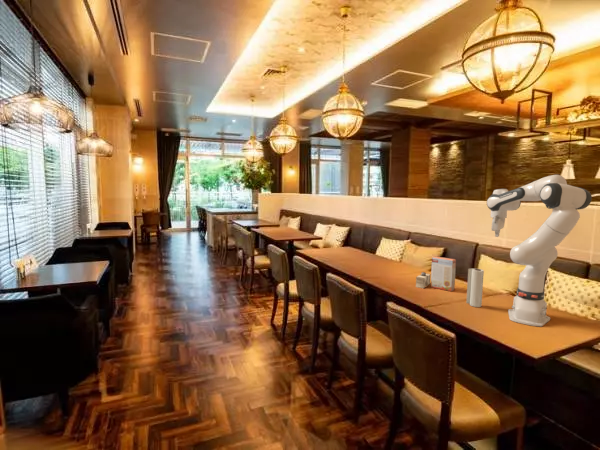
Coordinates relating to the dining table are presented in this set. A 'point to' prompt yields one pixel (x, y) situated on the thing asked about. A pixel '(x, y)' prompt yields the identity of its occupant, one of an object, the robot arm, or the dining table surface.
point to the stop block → (423, 280)
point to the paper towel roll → (475, 287)
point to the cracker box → (443, 273)
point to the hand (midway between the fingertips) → (497, 236)
